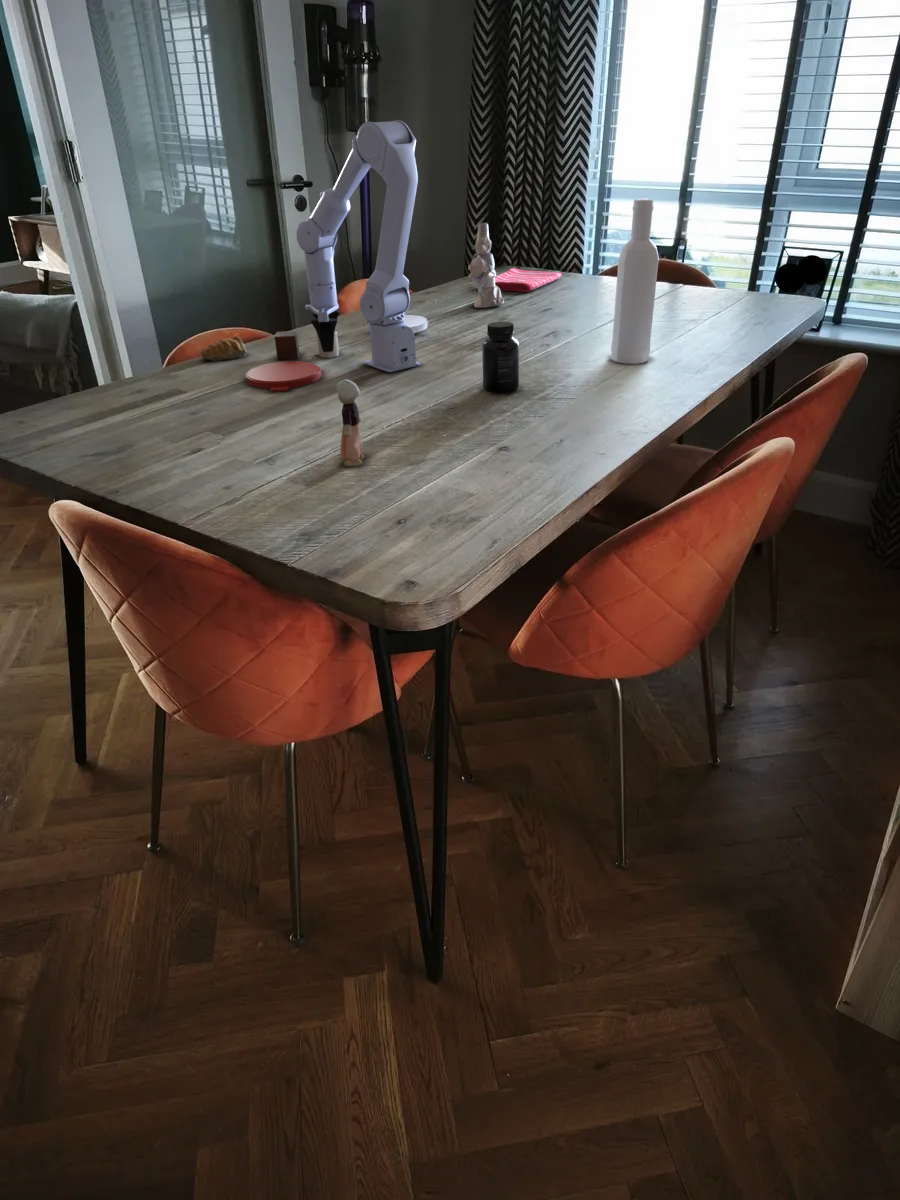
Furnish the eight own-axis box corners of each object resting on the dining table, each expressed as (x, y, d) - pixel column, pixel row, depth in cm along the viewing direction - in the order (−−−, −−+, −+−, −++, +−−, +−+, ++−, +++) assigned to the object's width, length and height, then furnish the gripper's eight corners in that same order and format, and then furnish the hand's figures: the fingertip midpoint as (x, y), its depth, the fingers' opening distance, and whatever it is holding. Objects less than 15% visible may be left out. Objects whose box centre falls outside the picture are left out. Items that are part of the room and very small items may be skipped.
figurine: (483, 301, 219) (482, 220, 209) (509, 304, 215) (509, 222, 205) (464, 307, 213) (463, 225, 203) (490, 310, 209) (490, 226, 199)
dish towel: (476, 289, 233) (476, 279, 232) (512, 275, 250) (512, 266, 249) (529, 293, 226) (529, 283, 224) (562, 278, 243) (563, 269, 242)
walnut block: (298, 359, 174) (295, 335, 172) (277, 360, 174) (274, 336, 171) (299, 353, 178) (296, 330, 175) (279, 354, 178) (276, 331, 175)
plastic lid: (359, 337, 189) (358, 326, 188) (385, 323, 200) (384, 313, 199) (413, 341, 184) (412, 330, 183) (436, 327, 195) (436, 316, 194)
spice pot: (343, 355, 176) (340, 328, 173) (326, 358, 174) (323, 332, 171) (332, 351, 179) (329, 325, 176) (315, 355, 177) (312, 328, 174)
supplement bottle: (522, 385, 154) (524, 320, 148) (513, 395, 149) (514, 329, 142) (488, 382, 156) (488, 318, 150) (478, 393, 151) (477, 327, 144)
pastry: (210, 364, 173) (206, 346, 171) (197, 358, 177) (193, 340, 175) (249, 356, 178) (246, 338, 176) (236, 350, 182) (233, 333, 180)
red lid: (251, 369, 168) (250, 362, 168) (323, 365, 169) (322, 359, 169) (240, 393, 154) (239, 386, 154) (318, 389, 155) (317, 382, 154)
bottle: (656, 358, 167) (673, 198, 151) (636, 366, 162) (651, 202, 147) (623, 351, 172) (636, 196, 156) (602, 360, 167) (614, 200, 151)
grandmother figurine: (342, 453, 126) (333, 373, 120) (366, 452, 127) (359, 372, 120) (340, 472, 120) (331, 389, 113) (366, 471, 120) (358, 387, 113)
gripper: (305, 277, 174) (312, 341, 182) (300, 290, 162) (308, 358, 169) (337, 276, 175) (343, 339, 182) (335, 289, 163) (341, 356, 170)
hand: (328, 348), depth 176 cm, fingers closed on spice pot, 4 cm apart
